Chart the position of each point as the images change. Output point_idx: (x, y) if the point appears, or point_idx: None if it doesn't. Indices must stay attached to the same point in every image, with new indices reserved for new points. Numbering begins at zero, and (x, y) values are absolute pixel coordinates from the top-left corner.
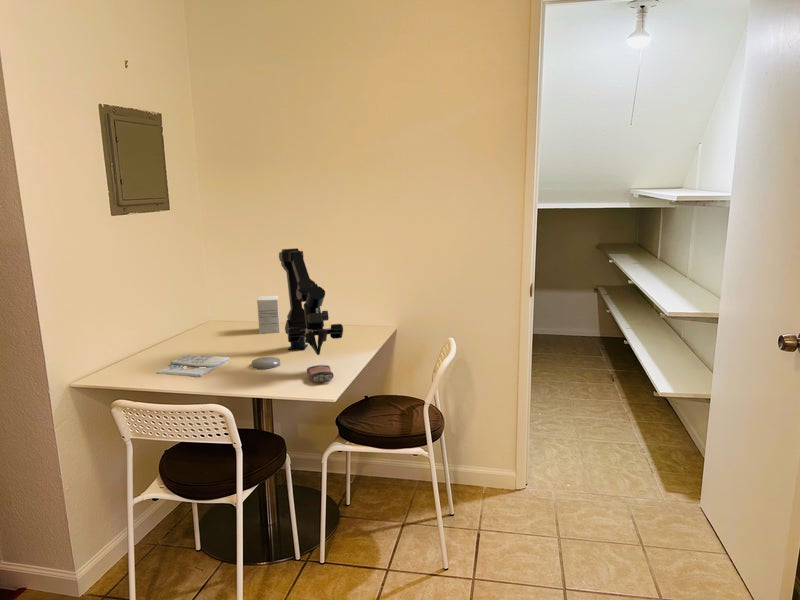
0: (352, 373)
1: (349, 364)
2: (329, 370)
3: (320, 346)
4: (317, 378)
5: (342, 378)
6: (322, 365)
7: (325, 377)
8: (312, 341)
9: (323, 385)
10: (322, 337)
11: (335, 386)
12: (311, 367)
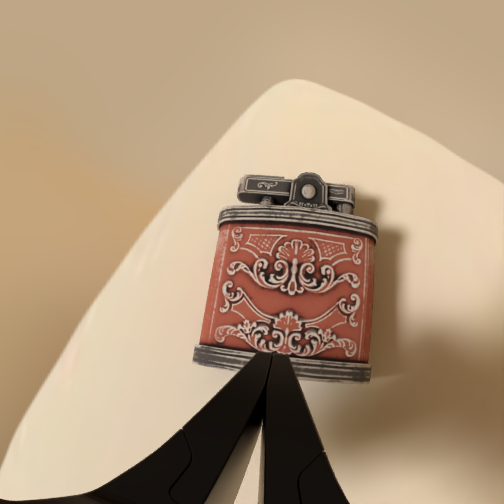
0: (97, 300)
1: (65, 452)
2: (227, 252)
3: (213, 404)
4: (331, 186)
5: (171, 243)
6: (247, 361)
7: (283, 177)
8: (338, 499)
9: None
10: (93, 500)
11: (248, 147)
12: (341, 361)
